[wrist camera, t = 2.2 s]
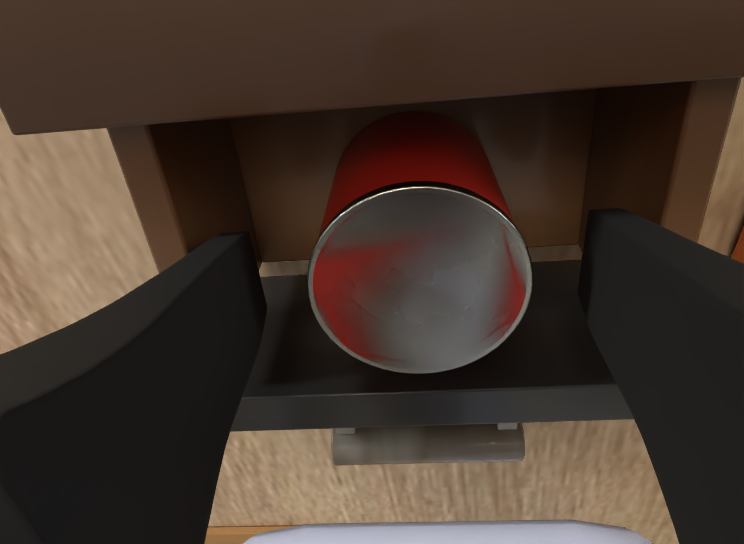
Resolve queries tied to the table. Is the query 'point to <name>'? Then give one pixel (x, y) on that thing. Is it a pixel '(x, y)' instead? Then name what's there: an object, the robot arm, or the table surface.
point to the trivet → (235, 534)
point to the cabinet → (338, 54)
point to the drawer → (529, 212)
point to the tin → (418, 249)
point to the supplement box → (739, 249)
